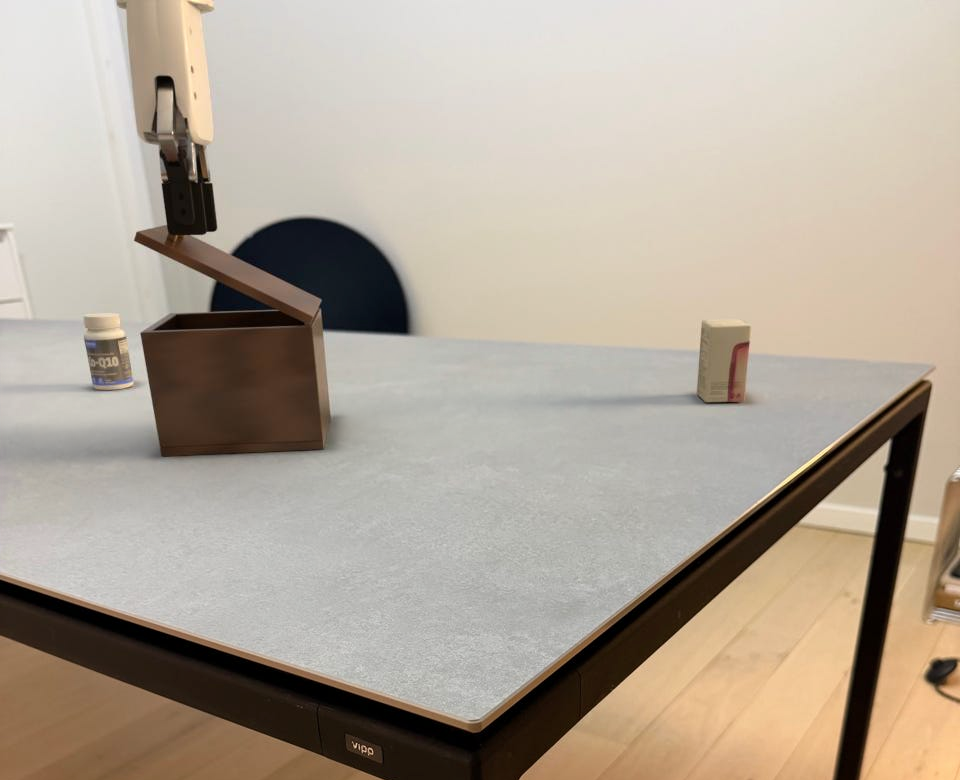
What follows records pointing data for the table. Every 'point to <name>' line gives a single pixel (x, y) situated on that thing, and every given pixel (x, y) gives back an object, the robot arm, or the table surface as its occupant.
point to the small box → (723, 360)
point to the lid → (231, 272)
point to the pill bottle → (107, 352)
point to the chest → (237, 382)
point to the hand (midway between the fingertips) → (193, 230)
